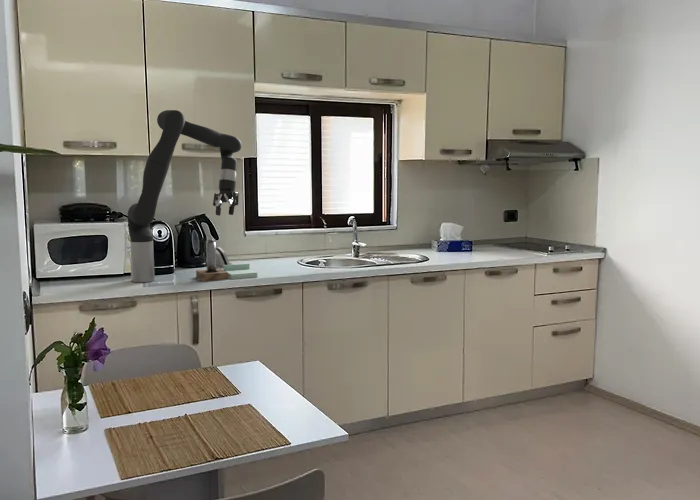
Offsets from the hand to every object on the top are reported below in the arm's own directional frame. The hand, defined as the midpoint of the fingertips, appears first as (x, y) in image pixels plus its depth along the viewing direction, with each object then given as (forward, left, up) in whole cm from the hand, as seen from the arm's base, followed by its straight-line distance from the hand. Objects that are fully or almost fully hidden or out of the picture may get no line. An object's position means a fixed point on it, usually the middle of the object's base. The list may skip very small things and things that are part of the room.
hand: (224, 215), depth 289 cm
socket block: (-9, -11, -27) cm, 30 cm away
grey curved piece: (+5, +22, -27) cm, 35 cm away
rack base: (+4, -11, -27) cm, 29 cm away
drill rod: (-9, -11, -27) cm, 30 cm away
